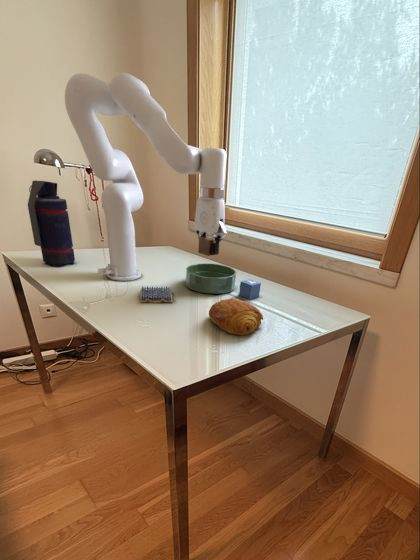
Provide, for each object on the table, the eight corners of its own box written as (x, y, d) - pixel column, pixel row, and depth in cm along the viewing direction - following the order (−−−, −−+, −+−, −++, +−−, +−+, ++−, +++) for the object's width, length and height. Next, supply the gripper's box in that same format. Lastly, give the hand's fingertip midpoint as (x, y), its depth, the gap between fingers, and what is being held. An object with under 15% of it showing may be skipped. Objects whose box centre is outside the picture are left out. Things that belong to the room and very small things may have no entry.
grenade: (64, 258, 138) (51, 179, 123) (81, 263, 132) (70, 182, 117) (33, 263, 128) (15, 179, 113) (50, 270, 122) (33, 182, 107)
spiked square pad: (139, 303, 100) (139, 297, 99) (140, 291, 109) (140, 285, 108) (173, 303, 101) (173, 297, 100) (171, 291, 110) (171, 286, 109)
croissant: (223, 346, 83) (227, 321, 79) (201, 315, 94) (203, 291, 89) (270, 337, 89) (276, 313, 84) (244, 309, 100) (248, 286, 95)
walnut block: (208, 255, 106) (209, 240, 104) (198, 252, 109) (198, 237, 107) (218, 254, 110) (219, 238, 107) (208, 251, 113) (209, 236, 110)
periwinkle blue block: (249, 299, 109) (251, 285, 106) (238, 295, 112) (240, 281, 109) (258, 296, 112) (261, 282, 109) (248, 292, 115) (249, 278, 112)
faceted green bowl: (209, 298, 107) (210, 281, 104) (175, 283, 118) (176, 267, 115) (244, 288, 118) (246, 272, 115) (210, 275, 129) (211, 261, 126)
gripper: (185, 191, 103) (184, 249, 112) (222, 197, 93) (218, 259, 102) (202, 191, 108) (199, 246, 117) (239, 197, 97) (234, 256, 107)
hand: (208, 252), depth 109 cm, fingers closed on walnut block, 5 cm apart
